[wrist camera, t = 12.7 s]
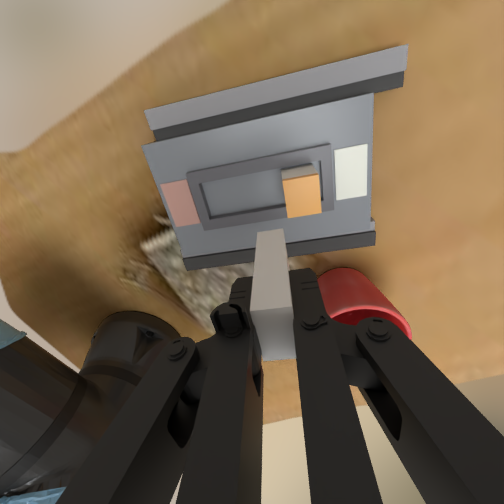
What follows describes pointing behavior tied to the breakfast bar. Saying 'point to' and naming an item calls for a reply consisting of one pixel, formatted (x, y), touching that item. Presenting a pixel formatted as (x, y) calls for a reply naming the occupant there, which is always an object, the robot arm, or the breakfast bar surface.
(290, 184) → the lever
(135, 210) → the breakfast bar surface
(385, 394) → the robot arm
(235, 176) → the breaker panel
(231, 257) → the long gray bar
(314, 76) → the grey long bar
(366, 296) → the flower pot
